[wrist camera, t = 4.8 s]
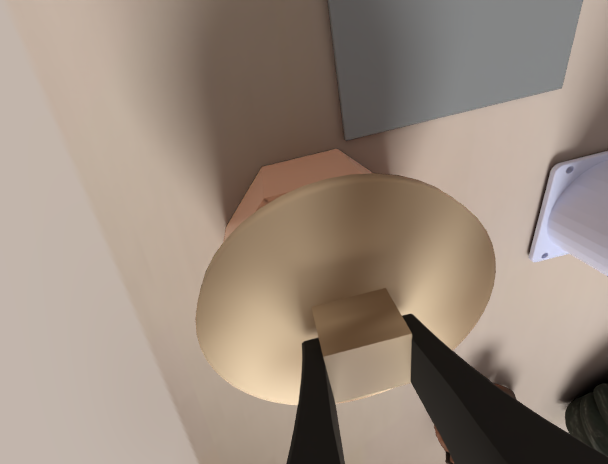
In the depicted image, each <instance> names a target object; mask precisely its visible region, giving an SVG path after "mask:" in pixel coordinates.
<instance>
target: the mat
mask: <svg viewBox="0 0 608 464" xmlns="http://www.w3.org/2000/svg"><path fill="white" fill-rule="evenodd" d="M582 3H583V0H328V8H329V16H330V24H331V32H332V40H333V49H334V57H335V65H336V73H337V81H338V89H339V97H340V105H341V114H342V122H343V130H344V138H345V140H346V141H347V140H351V139H355V138H359V137H363V136H367V135H371V134H375V133H380V132H384V131H388V130H392V129H396V128H400V127H404V126H408V125H412V124H417V123H421V122H425V121H429V120H433V119H437V118H441V117H445V116H449V115H454V114H458V113H462V112H466V111H470V110H474V109H478V108H482V107H487V106H491V105H495V104H499V103H503V102H507V101H511V100H515V99H519V98H524V97H528V96H532V95H536V94H540V93H544V92H548V91H552V90H557V89H561V88H562V86H563V82H564V77H565V73H566V69H567V65H568V61H569V57H570V52H571V48H572V44H573V40H574V36H575V32H576V27H577V23H578V19H579V15H580V11H581V7H582Z"/></svg>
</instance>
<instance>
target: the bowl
mask: <svg viewBox="0 0 608 464" xmlns="http://www.w3.org/2000/svg"><path fill="white" fill-rule="evenodd" d="M370 173H372V172H371V171H369V170H368V169H366V168H365V167H363V166H362V165H360V164H359V163H358V162H356V161H355V160H353V159H352V158H350V157H349V156H347V155H346V154H344V153H343V152H341V151H340V150H338V149H333V150H329V151H325V152H321V153H317V154H313V155H308V156H304V157H300V158H296V159H292V160H288V161H284V162H280V163H276V164H272V165H267V166H263V167H261V169H260V171H259V172H258V174H257V176H256V177H255V179H254V181H253V182H252V184H251V186H250V187H249V189H248V191H247V192H246V194H245V196H244V198H243V199H242V201H241V203H240V204H239V206H238V208H237V209H236V211H235V213H234V214H233V216H232V218H231V220H230V221H229V223H228V225H227V226H226V231H225V236H224V241H225V240H226V238H227V237H228V236H229V235H230V234H231V233H232V232H233V231H234V230H235V229H236V228H237V227H238V226H239V225H240V224H241V223H242V222H243V221H244V220H246V219H247V218H248V217H250V216H251V215H252V214H253V213H255V212H256V211H257V210H258V209H260V208H261V207H263V206H265V205H266V204H268V203H270V202H271V201H273V200H275V199H276V198H278V197H280V196H282V195H284V194H286V193H289V192H291V191H293V190H295V189H297V188H300V187H302V186H305V185H308V184H311V183H315V182H318V181H321V180H324V179H328V178H334V177H339V176H345V175H351V174H370Z"/></svg>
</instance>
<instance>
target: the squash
mask: <svg viewBox="0 0 608 464" xmlns="http://www.w3.org/2000/svg"><path fill="white" fill-rule="evenodd" d="M565 420H566V427H567V429H568V431H569V433H570V435H572V436H574V437H575V438H577V439H579V440H580V441H582V442H584V443H585V444H587V445H589V446H590V447H592V448H594V449H595V450H597V451H599V452H601V453H603V454H604V455H606V456H608V384H606V383H605V384H600V385H598V386H596V387H595V388H594V392H589V393H588V394H586V395H585V396H582V397H579V398H577V399H575V400H574V401H573V402H571V403H570V405H569V406H568V407H567V410H566V413H565Z"/></svg>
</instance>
